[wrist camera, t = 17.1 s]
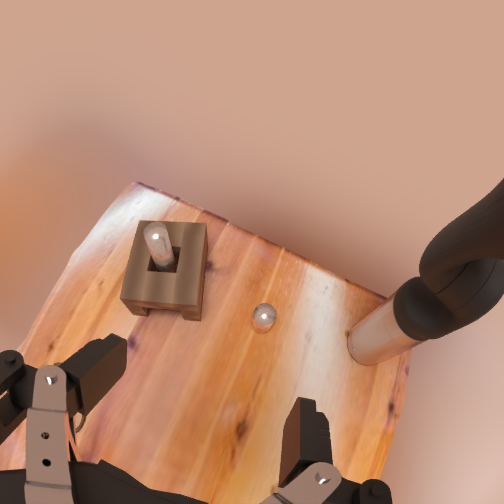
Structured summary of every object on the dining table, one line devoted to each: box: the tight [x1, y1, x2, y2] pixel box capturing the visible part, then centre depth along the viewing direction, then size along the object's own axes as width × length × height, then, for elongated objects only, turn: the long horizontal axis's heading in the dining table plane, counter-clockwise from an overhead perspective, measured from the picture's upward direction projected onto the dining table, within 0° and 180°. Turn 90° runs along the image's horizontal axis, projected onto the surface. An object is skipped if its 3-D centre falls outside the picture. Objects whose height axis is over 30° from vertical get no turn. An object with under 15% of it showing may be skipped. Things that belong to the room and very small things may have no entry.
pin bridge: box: [120, 220, 208, 321], centre depth 50 cm, size 13×16×8 cm
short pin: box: [251, 303, 276, 334], centre depth 48 cm, size 4×4×6 cm
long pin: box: [143, 222, 177, 273], centre depth 47 cm, size 4×4×16 cm
